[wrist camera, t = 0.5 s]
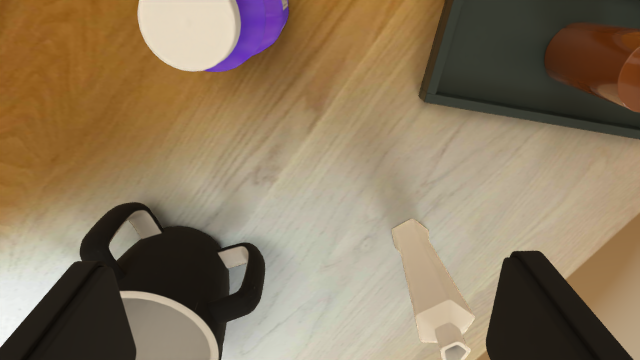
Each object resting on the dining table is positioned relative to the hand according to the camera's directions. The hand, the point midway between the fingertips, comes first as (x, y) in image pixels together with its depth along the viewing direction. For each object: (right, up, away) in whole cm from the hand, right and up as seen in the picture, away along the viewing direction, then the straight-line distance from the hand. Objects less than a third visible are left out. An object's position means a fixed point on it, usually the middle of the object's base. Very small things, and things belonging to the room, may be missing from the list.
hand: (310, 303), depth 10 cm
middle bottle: (+22, +14, +24) cm, 35 cm away
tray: (+21, +14, +25) cm, 35 cm away
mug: (-14, -5, +33) cm, 37 cm away
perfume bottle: (+10, -3, +32) cm, 34 cm away
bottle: (-6, +17, +23) cm, 29 cm away
